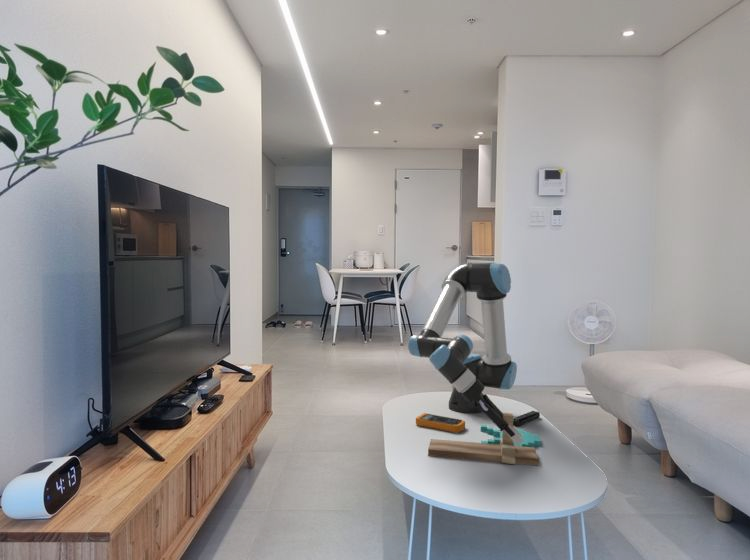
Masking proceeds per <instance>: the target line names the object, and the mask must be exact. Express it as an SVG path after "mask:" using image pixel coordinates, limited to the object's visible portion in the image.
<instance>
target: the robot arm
mask: <svg viewBox="0 0 750 560" xmlns="http://www.w3.org/2000/svg"><path fill="white" fill-rule="evenodd" d="M511 279H512V278H511V273H510V271H509V269H508V267H507V266H506V265H505V264H503V263H496V262H482V263H481V262H479V263H478V262H477V263H475V262H467V263H464V264H460V265H459V266H457V267H456V268H454V269H453V270H451V271H450V272H449V273H448V275H446V277H445V278H444V280H443V281H442V284H441V292H440V294H439V296H438V298H437V299H436V301H435V303H434V305H433V308H432V309H431V312H430V313H429V315H428V317H427V320H426V321H425V322H424V326H423V328H422V330H421V332H419V333H420V334H413V335H412V336H410V338H409V340H408V344H407V345H408V347H407V348H408V351H409V354H410V355H412V356H414V357H420V358H427V359H429V362H430V363H431V364H432V365H433V366H434V368H435V369H436V370H437V371H438V372H439V373H440V374H441V375H442V376H443V377H444V378H445V379H446V380H447V381H448V383H450V384H451V388H452V391H451V395H450V397H449V400H448V409H450V410H452V411H454V412H460V413H470V414H473V413H479V412H480V413H481V412H483V414H485V415H486V416H487V417H488V418H489V419H490V420H491V421H492V423H493V424H495V426H496V427H498V429H499V430H500V432H503V431H504V432H505V433H506V434H507V435H508V436H509V437H510V438H511V439H512V440H513V442H514V443H515V444H516V445H517V446H518V445H519V444H520V443H521V442H522V441H524V439H523V438H522V437H523V436H522V434H521V433H520V432H519V431H518V430H519V429H518V430H517V429H516V428H517V427H515V426H513V428H512V427H511V426H510V424H508V423H507V422H506V421H505V420H504V419H503V413H504V412H502V411H501V410H500V408H498V406H497V405H496V404H495V403H494V402H493V401H492V399H490V398H489V396H488V395H487V394H486V393H483V391H484V390H485V388H492V389H498V390H507V391H508V390H511V389H512V388H513V386H514V383H515V380H516V378H517V371H518V369H517V368H518V365H517V362H515V361H512V356H511V355H510V354H509V353H508V349H507V348H508V347H507V338H506V324H505V321H506V320H505V309H504V307H505V306H504V299H505V298H506V297H507V294H508V293H509V292H510V291H511V288H512V287H511V283H512V280H511ZM469 292H471V293H476V298H477V300H479V301H480V302H481V312H482V316H481V317H482V326H483V336H484V337H483V339H484V348H485V349H484V351H485V354H484V355H483V356H481V354H480V353H479V354H478V353H471V352H472V351H473V348H474V344H473V341H472V339H471V338H470V337H469V336H468V335H465V334H458V335H456V336H454V337H453V338H448V337H443V335H444V332H445V330H446V328H447V327H448V325H449V322H450V319H451V317H452V316H453V313H454V311H455V309H456V306H457V305H458V302H459V300H460V299H461V298H463V297H464V296H465V294H466V293H469Z"/></svg>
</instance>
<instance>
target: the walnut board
mask: <svg viewBox="0 0 750 560" xmlns="http://www.w3.org/2000/svg"><path fill="white" fill-rule="evenodd" d="M428 445H429V446H428V450H427V456H431V457H440V456H441V457H442V458H453V459H462V460H463V459H465V460H475V461H487V462H497V463H502V454H501V447H500V445H498V444H486V443H481V442H472V441H460V440H450V439H448V440H447V439H435V438H431V439H430V441H429V444H428ZM515 464H520V465H530V466H531V465H532V466H539V456H538V454H537V451H536V448H534V447H522V446H515Z"/></svg>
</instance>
